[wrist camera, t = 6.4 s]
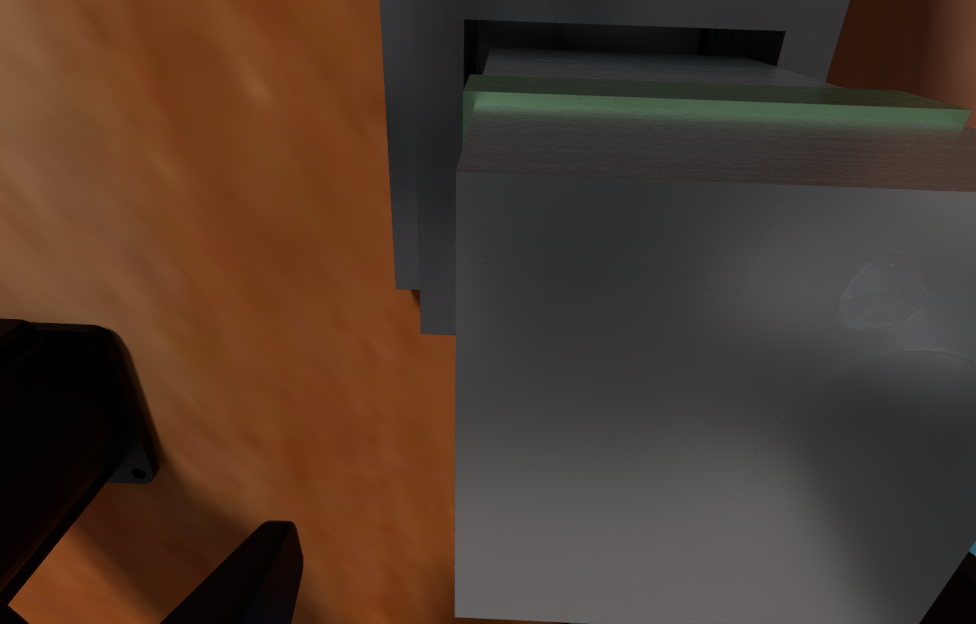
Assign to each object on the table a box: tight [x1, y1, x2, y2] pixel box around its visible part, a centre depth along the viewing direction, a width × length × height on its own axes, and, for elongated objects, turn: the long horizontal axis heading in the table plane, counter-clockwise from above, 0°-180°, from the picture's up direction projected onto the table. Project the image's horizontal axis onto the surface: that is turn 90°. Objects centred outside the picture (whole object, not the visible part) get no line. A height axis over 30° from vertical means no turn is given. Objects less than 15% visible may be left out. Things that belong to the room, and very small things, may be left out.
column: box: [455, 47, 976, 624], centre depth 7 cm, size 4×4×7 cm
